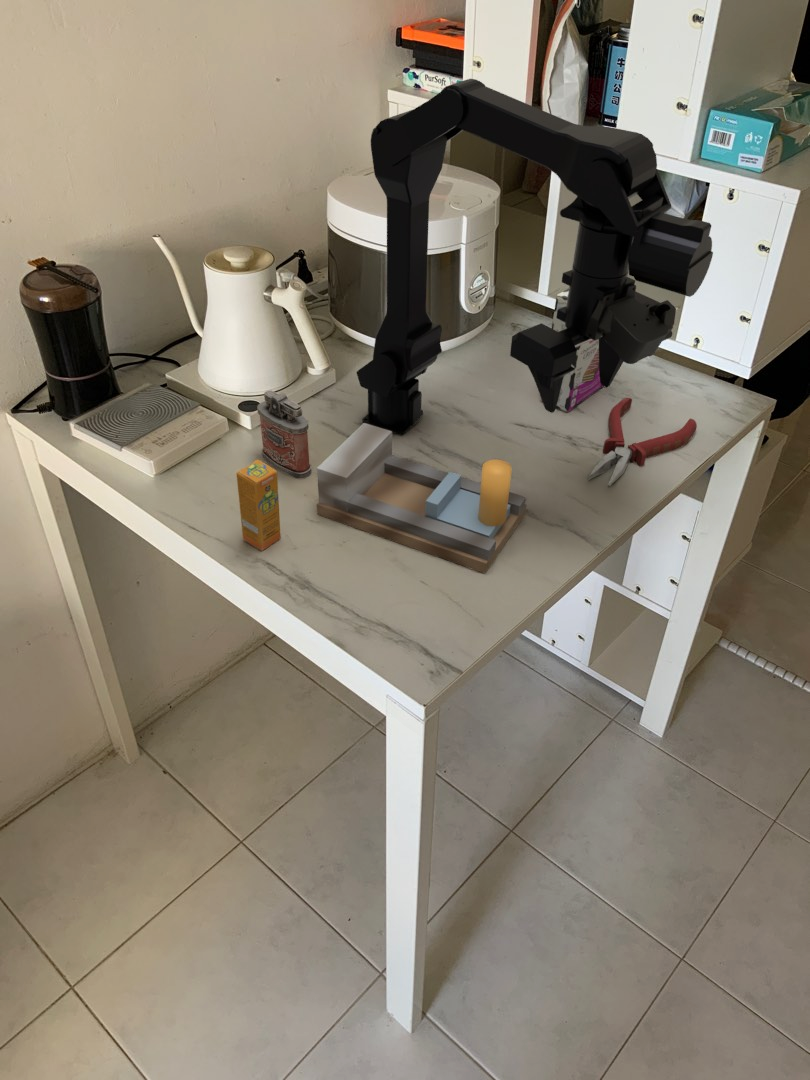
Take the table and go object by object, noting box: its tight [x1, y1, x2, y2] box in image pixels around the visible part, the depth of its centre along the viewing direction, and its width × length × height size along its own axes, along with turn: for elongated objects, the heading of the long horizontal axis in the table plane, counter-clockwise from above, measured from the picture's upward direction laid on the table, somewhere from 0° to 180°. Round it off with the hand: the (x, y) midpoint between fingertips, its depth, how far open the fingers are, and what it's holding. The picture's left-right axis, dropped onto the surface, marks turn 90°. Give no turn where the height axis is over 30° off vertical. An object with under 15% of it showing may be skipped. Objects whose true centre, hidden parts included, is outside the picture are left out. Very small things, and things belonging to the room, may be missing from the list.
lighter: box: [256, 389, 312, 480], centre depth 110 cm, size 8×3×10 cm, turn 47°
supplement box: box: [236, 459, 281, 551], centre depth 98 cm, size 3×3×10 cm
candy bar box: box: [540, 288, 604, 413], centre depth 122 cm, size 11×5×16 cm, turn 139°
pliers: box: [586, 397, 698, 488], centre depth 116 cm, size 12×20×3 cm, turn 145°
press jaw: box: [425, 458, 513, 539], centre depth 100 cm, size 9×6×8 cm
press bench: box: [316, 423, 527, 574], centre depth 104 cm, size 22×12×6 cm, turn 62°
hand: (577, 397), depth 100 cm, fingers open, 9 cm apart
